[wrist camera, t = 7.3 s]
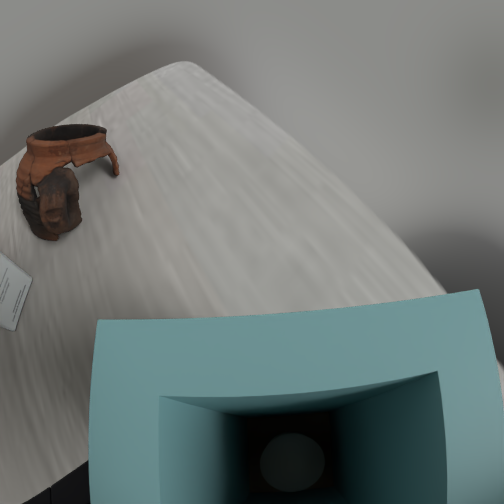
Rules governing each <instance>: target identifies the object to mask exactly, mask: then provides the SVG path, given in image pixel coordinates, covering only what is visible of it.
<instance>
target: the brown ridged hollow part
mask: <svg viewBox="0 0 504 504" xmlns="http://www.w3.org/2000/svg"><path fill="white" fill-rule="evenodd" d="M106 132H107V130H106V129H105V128H103V127H100V126H95V125H88V124H70V125H60V126H53V127H49V128H45V129H42V130H39V131H37V132H35V133H33V134H31V135H30V136H28V138H27V140H26V143H27V152H26V153H25V154H24V156H23V158H22V160H21V162H20V164H19V167H18V170H17V178H16V183H17V187H16V189H17V195H18V198H19V203H20V204H21V208H22V210H23V214H24V216H25V217H26V219H27V221H28V223H29V224H30V227H31V230H32V231H33V233H34V234H35V235H37V236H38V237H39V238H42V239H45V240H51V241H57V240H58V239H59V236H58V234H61V233H64V232H68V231H71V230H72V229H74V228H75V227H76V226H78V225H79V224H80V223H81V222H82V218H81V211H80V208H79V203H78V200H79V192H78V188H79V184H78V181H77V179H76V177H75V175H74V172H73V171H72V170H71V169H70V168H63V167H64V166H65V165H67V164H68V163H70V162H72V163H73V165H74V166H75V167H79V166H81V165H83V164H85V163H90V162H92V161H94V160H95V159H97V158H100V157H105V156H107V155H108V156H109V157H110V159H111V161H112V165H113V173H114V174H115V175H117V176H118V175H119V169H118V168H119V165H118V162H117V156H116V155H115V153H114V151H113V149H112V148H111V146H110V145H109V144H108V143H107V142H106ZM34 186H36V187H38V191H39V194H40V197H38V198H37V194H36V192H35V189H34Z"/></svg>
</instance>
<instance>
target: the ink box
mask: <svg viewBox="0 0 504 504" xmlns="http://www.w3.org/2000/svg"><path fill="white" fill-rule="evenodd" d="M31 282H32V277H31V276H30V275H28V274H27V273H26V272H25V271H23V270H22V269H21V268H20V267H18V266H17V265H16V264H15V263H14V262H12V261H11V260H10V259H9V258H8V257H6V256H5V255H4V254H3V253H2V252H1V251H0V327H3V328H5V329H8V330H11V331H15V329H16V325H17V322H18V319H19V316H20V313H21V310H22V307H23V304H24V301H25V298H26V295H27V293H28V290H29V287H30V285H31Z"/></svg>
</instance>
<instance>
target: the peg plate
mask: <svg viewBox="0 0 504 504" xmlns="http://www.w3.org/2000/svg"><path fill="white" fill-rule="evenodd" d="M247 438H248V465H249V491H250V493H261V492H284V491H286V492H296V491H301V490H308V489H318V488H326V487H333V486H334V485H333V461H332V443H331V428H330V414H329V412H321V413H311V414H301V415H289V416H274V417H253V418H247Z"/></svg>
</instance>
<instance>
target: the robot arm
mask: <svg viewBox="0 0 504 504" xmlns="http://www.w3.org/2000/svg"><path fill="white" fill-rule="evenodd" d="M22 504H91V501H90V485H89V460H88V461H86V462H85V463H83V464H82V465H81V466H79V467H78V468H76V469H75V470H74V471H72V472H71V473H69V474H68V475H66V476H65V477H63V478H62V479H61V480H59V481H58V482H56V483H55V484H53V485H52V486H51V487H49V488H47V489H46V490H44V491H42V492H41V493H39V494H38V495H36V496H35V497H33V498H31V499H30V500H28V501H26V502H24V503H22Z"/></svg>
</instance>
